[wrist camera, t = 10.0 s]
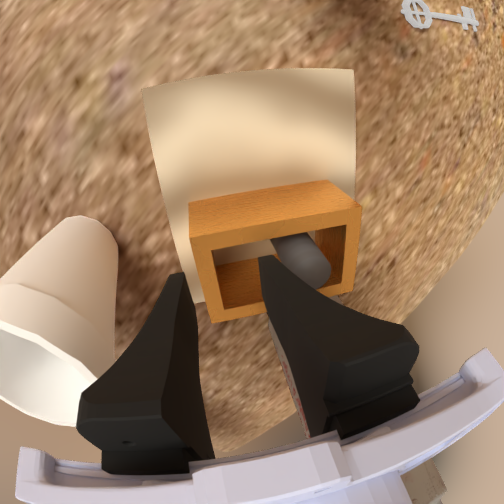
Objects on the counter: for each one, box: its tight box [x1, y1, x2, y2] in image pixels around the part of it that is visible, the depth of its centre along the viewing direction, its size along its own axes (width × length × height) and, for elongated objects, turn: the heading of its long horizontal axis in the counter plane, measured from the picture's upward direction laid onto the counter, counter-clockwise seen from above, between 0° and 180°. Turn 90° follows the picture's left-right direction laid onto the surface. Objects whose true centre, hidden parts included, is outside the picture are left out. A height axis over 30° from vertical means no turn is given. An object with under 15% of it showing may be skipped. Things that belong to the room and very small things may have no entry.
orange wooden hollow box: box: [188, 180, 362, 323], centre depth 19 cm, size 10×6×5 cm, turn 96°
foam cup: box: [0, 215, 119, 427], centre depth 15 cm, size 10×9×13 cm
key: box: [401, 0, 479, 32], centre depth 15 cm, size 12×1×3 cm
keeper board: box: [141, 68, 356, 303], centre depth 18 cm, size 17×14×8 cm
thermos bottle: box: [268, 295, 447, 504], centre depth 18 cm, size 8×8×28 cm
